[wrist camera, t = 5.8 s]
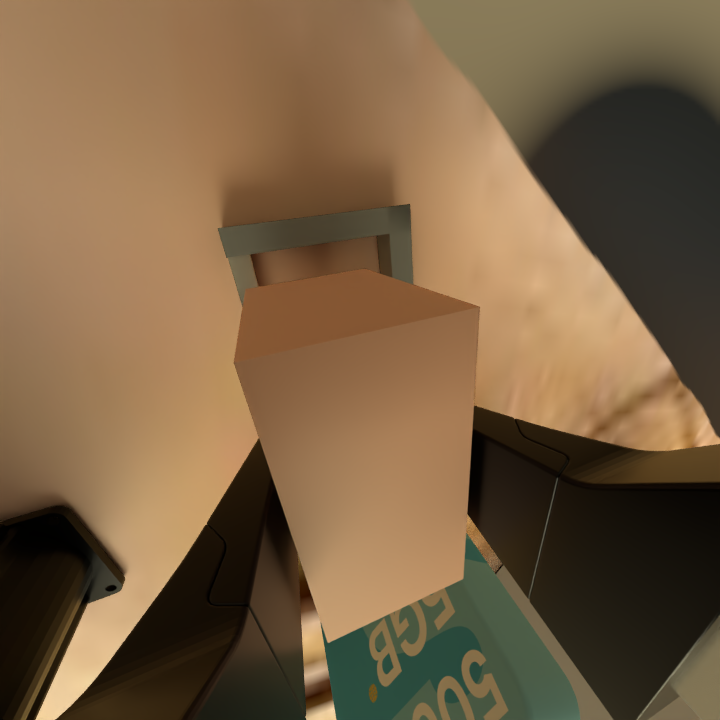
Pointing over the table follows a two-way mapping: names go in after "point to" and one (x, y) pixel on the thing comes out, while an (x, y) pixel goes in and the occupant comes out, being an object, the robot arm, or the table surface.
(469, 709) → the data package
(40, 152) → the table surface
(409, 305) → the tall beige box
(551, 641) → the game console
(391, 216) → the grey rectangular frame
